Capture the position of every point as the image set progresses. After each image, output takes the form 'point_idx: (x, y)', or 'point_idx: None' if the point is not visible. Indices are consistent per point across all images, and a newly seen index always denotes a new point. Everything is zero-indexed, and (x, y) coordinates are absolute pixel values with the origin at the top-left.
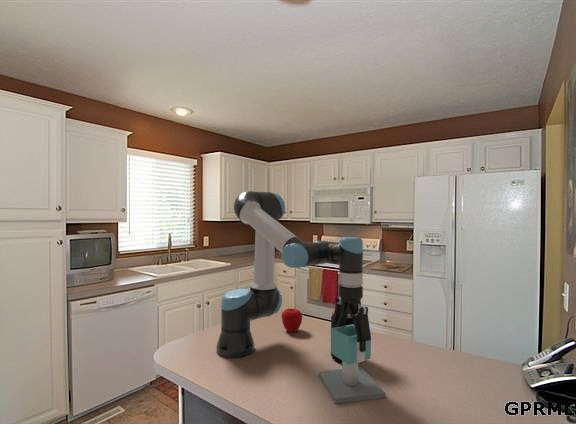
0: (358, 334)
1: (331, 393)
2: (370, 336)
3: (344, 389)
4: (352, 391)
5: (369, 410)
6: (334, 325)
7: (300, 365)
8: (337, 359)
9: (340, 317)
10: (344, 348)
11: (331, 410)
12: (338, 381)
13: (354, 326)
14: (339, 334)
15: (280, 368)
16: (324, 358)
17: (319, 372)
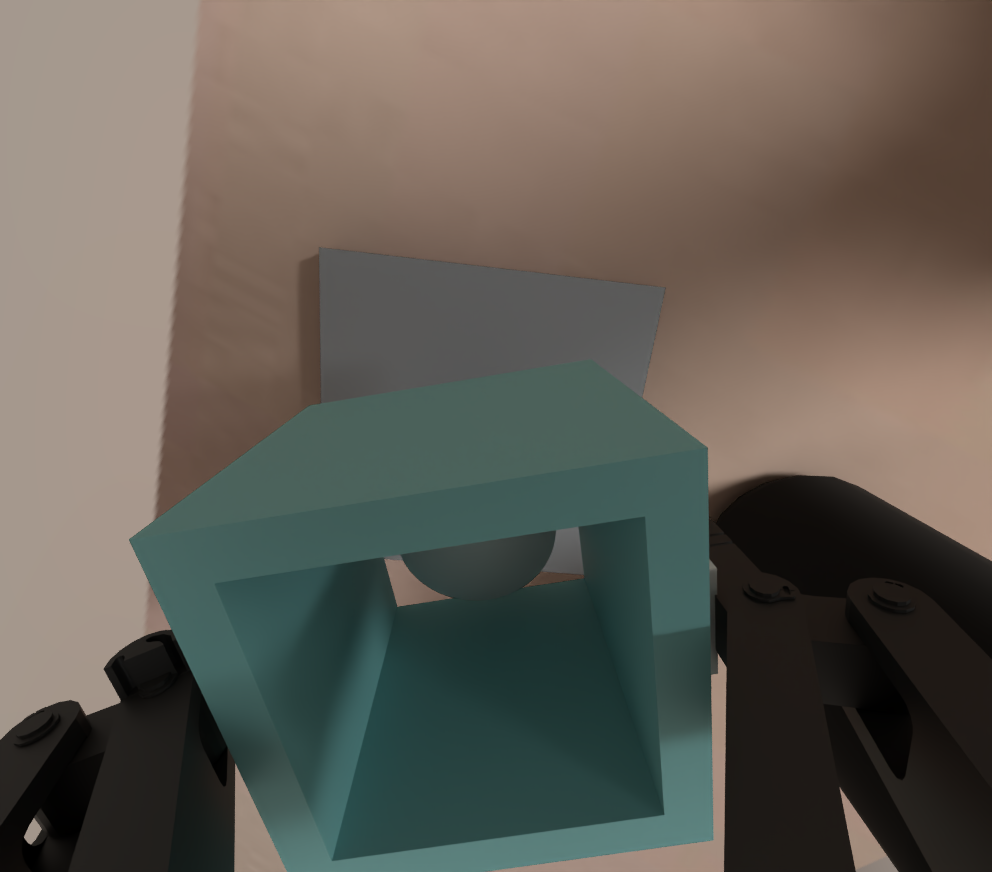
0: (132, 749)
1: (393, 256)
2: (37, 859)
3: (404, 356)
4: (371, 392)
5: (241, 408)
6: (848, 589)
7: (842, 214)
8: (760, 489)
9: (787, 853)
10: (322, 440)
11: (271, 193)
12: (499, 363)
13: (615, 827)
14: (407, 484)
15: (884, 17)
16: (840, 427)
17: (650, 287)
